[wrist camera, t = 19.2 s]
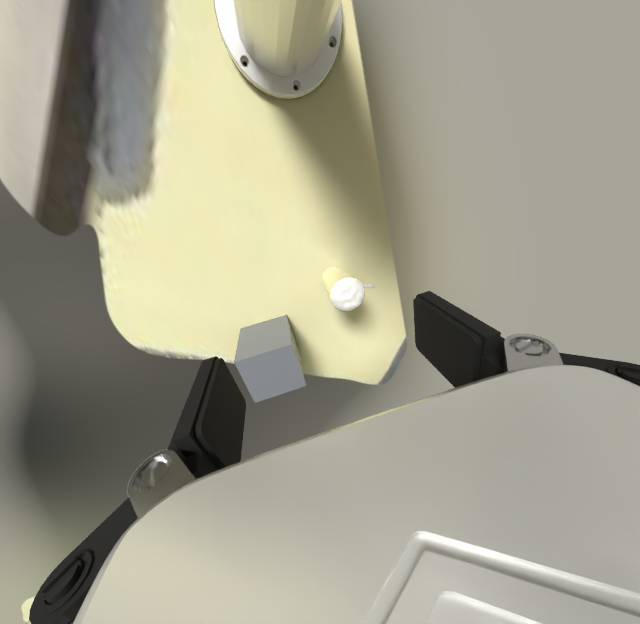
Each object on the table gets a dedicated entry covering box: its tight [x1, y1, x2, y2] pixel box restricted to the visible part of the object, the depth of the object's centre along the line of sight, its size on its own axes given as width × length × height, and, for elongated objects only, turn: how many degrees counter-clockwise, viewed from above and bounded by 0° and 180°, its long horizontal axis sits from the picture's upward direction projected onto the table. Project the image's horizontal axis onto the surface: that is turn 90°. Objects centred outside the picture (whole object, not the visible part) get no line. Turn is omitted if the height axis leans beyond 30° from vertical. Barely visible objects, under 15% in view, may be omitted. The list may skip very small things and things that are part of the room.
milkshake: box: [322, 266, 374, 311], centre depth 33 cm, size 4×5×10 cm
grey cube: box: [234, 315, 306, 402], centre depth 37 cm, size 8×8×9 cm
